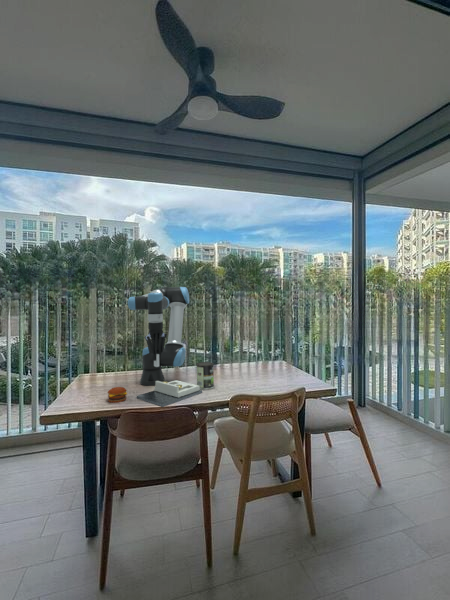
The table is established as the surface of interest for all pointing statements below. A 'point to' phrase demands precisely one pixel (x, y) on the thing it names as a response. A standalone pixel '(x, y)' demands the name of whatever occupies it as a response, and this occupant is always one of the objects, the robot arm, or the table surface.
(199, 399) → the table surface
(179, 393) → the panel
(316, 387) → the table surface
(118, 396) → the hamburger
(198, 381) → the coffee can
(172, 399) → the base
